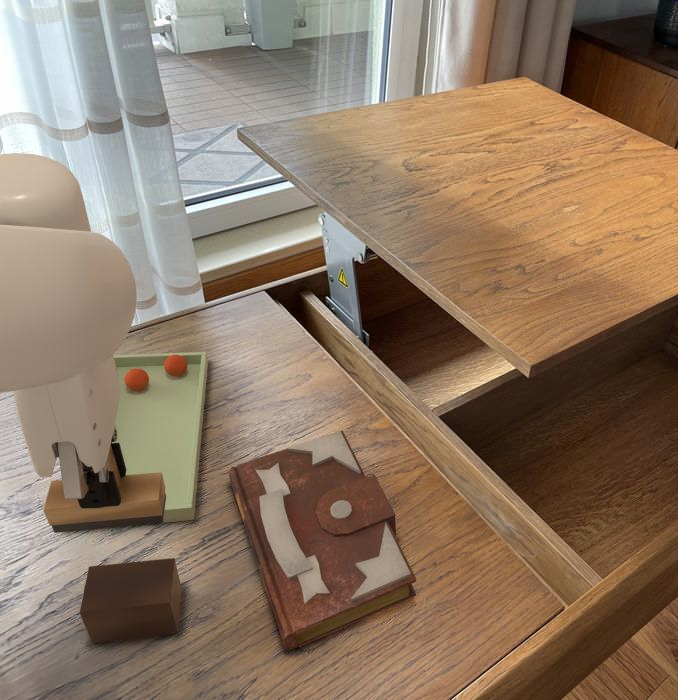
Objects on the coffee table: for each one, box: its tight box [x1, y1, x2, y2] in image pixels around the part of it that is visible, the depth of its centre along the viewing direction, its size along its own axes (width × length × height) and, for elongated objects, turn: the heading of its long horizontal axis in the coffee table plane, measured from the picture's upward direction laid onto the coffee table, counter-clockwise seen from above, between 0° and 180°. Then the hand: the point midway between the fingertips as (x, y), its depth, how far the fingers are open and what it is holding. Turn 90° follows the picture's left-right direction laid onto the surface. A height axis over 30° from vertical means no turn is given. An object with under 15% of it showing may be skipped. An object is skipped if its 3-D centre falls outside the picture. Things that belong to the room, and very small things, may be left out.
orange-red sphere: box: [164, 355, 187, 376], centre depth 99 cm, size 3×3×3 cm
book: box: [227, 429, 417, 651], centre depth 82 cm, size 23×16×5 cm
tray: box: [112, 351, 209, 524], centre depth 91 cm, size 27×13×2 cm, turn 12°
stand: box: [79, 557, 183, 644], centre depth 72 cm, size 5×8×6 cm, turn 102°
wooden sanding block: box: [42, 444, 166, 534], centre depth 62 cm, size 3×9×10 cm, turn 102°
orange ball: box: [125, 368, 149, 391], centre depth 96 cm, size 3×3×3 cm
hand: (104, 489), depth 63 cm, fingers closed on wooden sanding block, 2 cm apart
